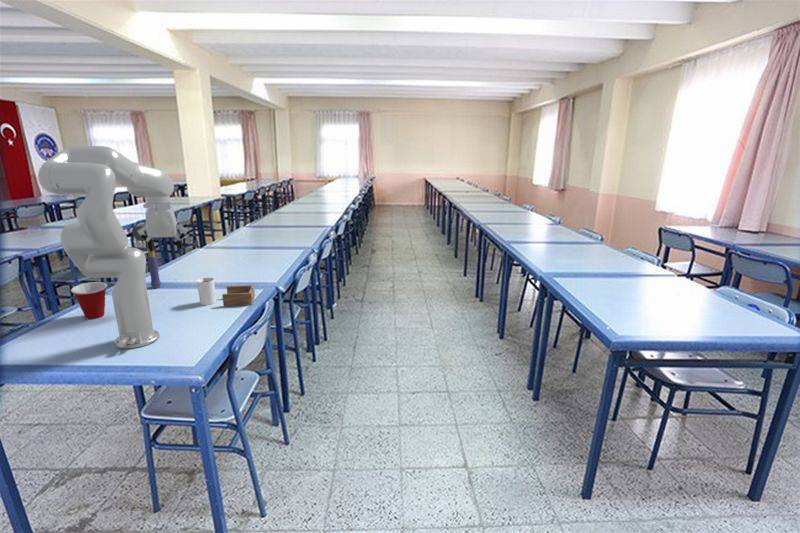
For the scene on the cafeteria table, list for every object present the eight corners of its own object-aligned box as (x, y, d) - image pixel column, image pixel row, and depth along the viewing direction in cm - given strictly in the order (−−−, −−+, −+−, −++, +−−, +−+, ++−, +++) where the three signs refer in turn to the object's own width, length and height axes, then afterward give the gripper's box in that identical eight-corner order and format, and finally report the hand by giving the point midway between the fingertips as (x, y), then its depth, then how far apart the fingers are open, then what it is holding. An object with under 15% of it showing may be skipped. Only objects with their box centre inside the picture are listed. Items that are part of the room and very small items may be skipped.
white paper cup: (214, 299, 175) (212, 276, 173) (218, 303, 170) (216, 280, 167) (197, 302, 171) (194, 279, 169) (201, 306, 166) (198, 283, 164)
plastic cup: (75, 324, 148) (69, 293, 145) (78, 314, 156) (71, 284, 153) (112, 318, 154) (106, 288, 150) (112, 309, 162) (107, 280, 159)
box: (252, 304, 170) (251, 293, 168) (223, 306, 167) (222, 294, 166) (255, 295, 180) (254, 284, 179) (228, 297, 178) (227, 286, 176)
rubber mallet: (157, 291, 183) (147, 225, 174) (140, 292, 182) (129, 225, 174) (171, 283, 195) (162, 220, 186) (155, 283, 194) (145, 220, 186)
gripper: (129, 209, 150) (138, 254, 155) (181, 208, 154) (187, 252, 159) (137, 205, 157) (145, 248, 162) (186, 204, 161) (192, 247, 166)
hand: (166, 250), depth 161 cm, fingers open, 9 cm apart
